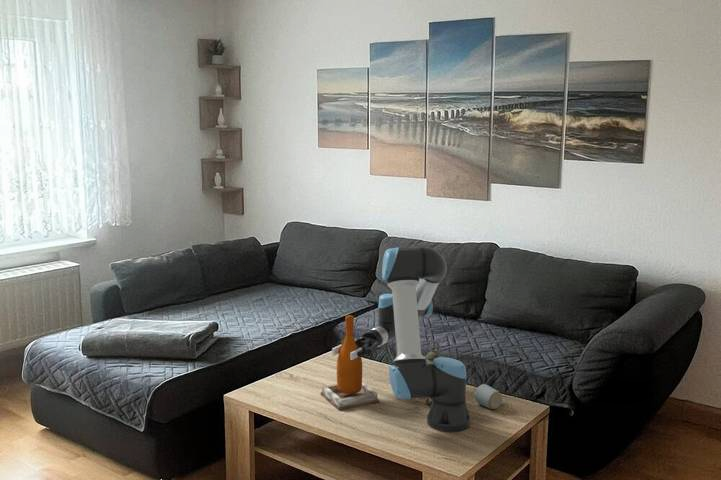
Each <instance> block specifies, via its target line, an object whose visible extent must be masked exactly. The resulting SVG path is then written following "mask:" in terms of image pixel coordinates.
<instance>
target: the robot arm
mask: <svg viewBox="0 0 721 480" xmlns="http://www.w3.org/2000/svg"><path fill="white" fill-rule="evenodd" d="M447 270H448V267H447V262H446V260H445V258H444V256H443V255H442V254H441V253H440V252H439V251H437V250H436V249H434V248H432V247H428V246H421V247H419V246H417V247H415V246H414V247H413V246H412V247H405V246H403V247H400V246H399V247H394V248H393V247H392V248H388V249H386V250H385V252H384V255H383V259H382V265H381V276H382V280H383V281H387V284H386V285H387V287H388V288H389V289H390V290H391V291H392V292H391V293H383V294H381V295H380V296H379V298H378V305H377V307H378V322H377V323H378V325H377V326H376V327H374V328H371V329H370V330H368V331H366V332H364V333H363V334H362V336H360V337H358V338H355V336H354V340H355V343H356V345H357V348H358V349H357V350H355V351H353V352H351V353H350V360H353V359H355V358H357V357H359V356H361V357H362V356H372V355H373V354H374V353H375V352H376V351H378V350H380V349H381V348H382V346H383V345H385V344H387V343H389V342H391V341H394V340H395V343H396V347H395V348H396V357H394V359H393V361H392V363H393V365H390V366H389V369H388V371H389V382H390V386H391V389H392V393H393V394H394V396H395V397H396V398H397V399H399V400H405V399H406V400H407V399H408V400H413V399H424V398H425V399H426V398H429V397H433V399H432V402H431V405H430V408H429V411H428V414H427V417H426V418H427V421H426V423H427V425H428V426H429V427H430V428H432V429H434V430H437V431H440V432H451V433H452V432H461V431H464V430H466V429H467V428H469V427H470V425H471V417H470V414H469V411H468V410H469V409H468V407H467V404H466V401H467V399H466V398H467V397H466V396H467V395H466V393H467V377H468V376H467V368H466V365H465V364H464V363H463V362H462V361H460V360H458V359H455V358H453V357H452V358H451V357H447V356H442V357H438V358H435V359H434V360H433V364H426V358H425V357H424V356H425V355H423V354H422V348H421V337H420V325H419V317H422V318H423V317H430V316H432V314H433V309H434V305H433V300H432V299H433V296H434V294H435V292H436V290H437V288H438V286H439V284H440V283H441V282H443V280H444V279H445V277H446V274H447V273H448V272H447ZM341 345H342V340H340V341H337V345H336V346H335V347H332V349H331V354H332V356H333V357H334V356H336V355H339V352H340V350H341V348H342V346H341ZM429 399H430V398H429Z"/></svg>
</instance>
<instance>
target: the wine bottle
mask: <svg viewBox="0 0 721 480" xmlns="http://www.w3.org/2000/svg"><path fill="white" fill-rule="evenodd" d="M344 320H345V324H344V325H345V336H344V339H342V340H341V341H342V345H341V346H342V348H341V350H340V352H339V354H337V355H338V356H337V360H336V384H337V388H338V390H339V391H340V392H341V393H345V394H354V393H358V392H359V391H360V390H361V389H362V382H363V359H362V356H359V357H357V358H355V359H353V360H350V353H351V352H353V351H355V350H357V349H359V348H357V345H356V343H355V340H354V337H355V335H354V327H355V325H354V323H355V317H354V315H352V314H349V315H348V314H347V315H346V316H345V319H344Z"/></svg>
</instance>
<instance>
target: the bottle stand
mask: <svg viewBox="0 0 721 480" xmlns="http://www.w3.org/2000/svg"><path fill="white" fill-rule="evenodd" d="M321 390H322V391H320V396H322V397H323V398H324V399H325V400H326V401H327V402H329V403H330V404H331V405H332V407H334V408H336V410H338V411H343V410H347V409H353V408H357V407H362V406H369V405H374V404H379V403H380V399H379V398H378V394H379V393H378V392H376V391H375V390H374V389H372V388H371V387H370V386H368V385H367V384H366V383H364V382H363V381H362V389H361V390H360V391H359V392H358V393H354V394H345V393H341V392H340V391H339V390H338V388H337V383H333V384H328V385H322V386H321Z"/></svg>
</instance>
